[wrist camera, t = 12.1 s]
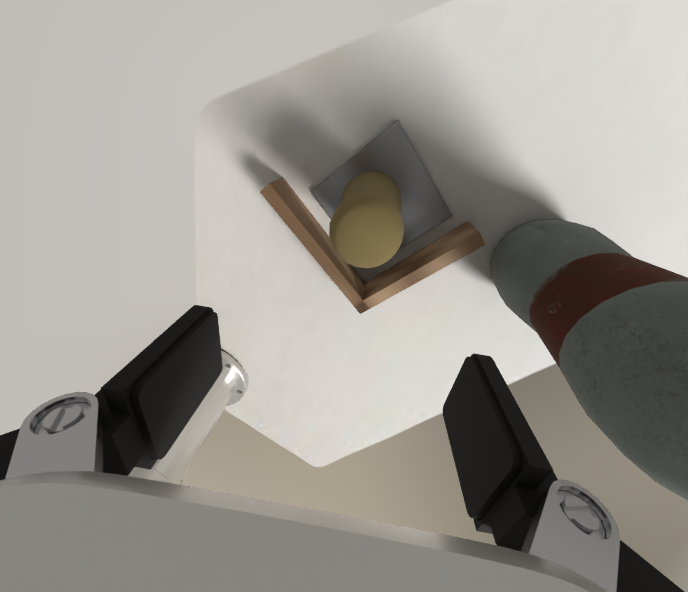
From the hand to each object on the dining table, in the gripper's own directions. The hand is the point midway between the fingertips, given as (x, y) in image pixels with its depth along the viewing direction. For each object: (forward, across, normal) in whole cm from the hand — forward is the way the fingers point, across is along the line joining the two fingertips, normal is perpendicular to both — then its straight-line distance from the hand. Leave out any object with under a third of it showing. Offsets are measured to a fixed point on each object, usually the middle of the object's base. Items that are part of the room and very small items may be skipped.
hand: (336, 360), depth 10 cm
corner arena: (+21, -2, -2) cm, 21 cm away
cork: (+21, -1, -2) cm, 21 cm away
